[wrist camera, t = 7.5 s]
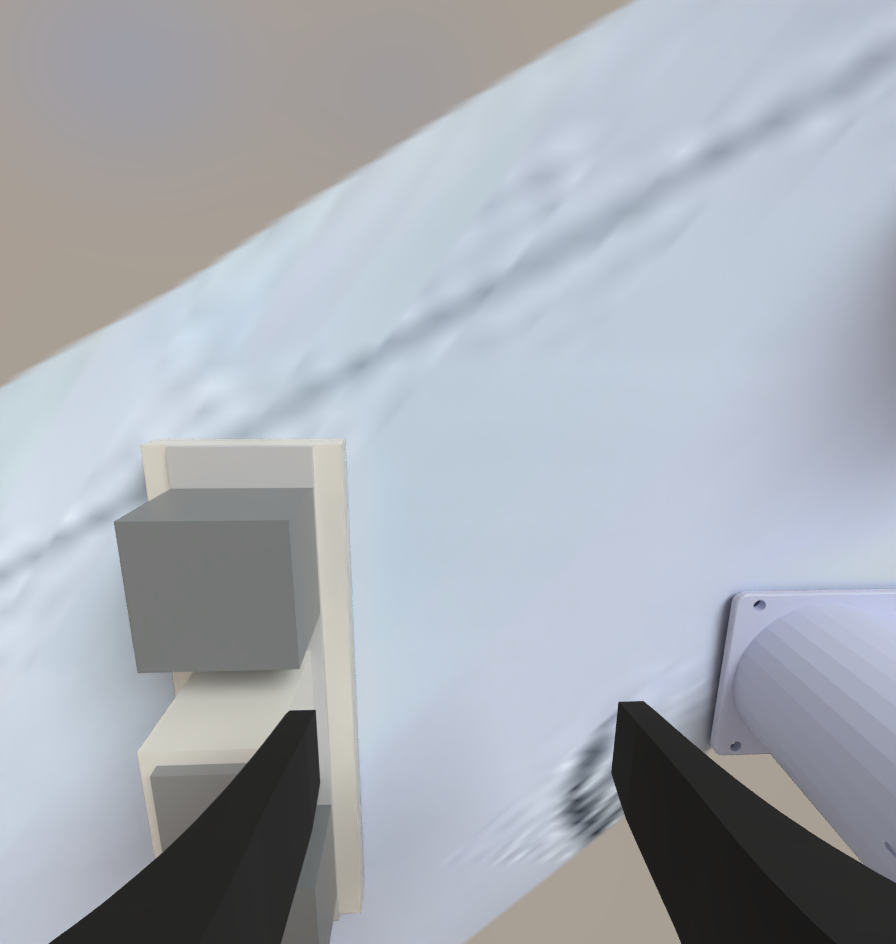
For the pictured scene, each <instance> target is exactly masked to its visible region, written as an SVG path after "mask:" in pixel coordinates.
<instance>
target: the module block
mask: <svg viewBox="0 0 896 944" xmlns="http://www.w3.org/2000/svg"><path fill="white" fill-rule="evenodd" d="M289 710H315V708H314V693H313V678H312V663H311V651H306V653H305V656H304V658H303V661H302V664H301V666H300V669H289V670H244V671H199V672H193V673H192V674H191V675H190V677H189V678H188V680H187V681H186V683H185V684H184V685H183V687H182V688H181V690H180V691H179V693H178V694H177V696H176V697H175V698H174V700H173V701H172V703H171V704H170V706H169V707H168V708H167V710H166V711H165V713H164V714H163V716H162V717H161V719H160V720H159V721H158V723H157V724H156V726H155V727H154V729H153V730H152V731H151V733H150V734H149V736H148V737H147V739H146V740H145V742H144V743H143V744H142V746H141V747H140V749H139V750H138V752H137V755H138V761H139V767H140V773H141V779H142V785H143V791H144V797H145V803H146V809H147V815H148V820H149V826H150V832H151V838H152V844H153V850H154V856H155V859H156V858H157V857H158V856H159V855H160V854H161V853H162V852H163V851H165V850H166V849H167V848H168V847H169V846H170V845H171V844H172V843H173V842H174V841H175V840H176V839H177V838H178V837H179V836H180V835H181V834H182V833H183V832H184V831H185V830H186V829H187V828H188V827H189V826H190V825H191V824H192V823H193V822H194V821H195V820H196V819H197V818H198V817H199V816H200V815H201V814H202V813H203V812H204V811H205V810H206V809H207V808H208V807H209V805H210V804H211V803H212V802H213V801H214V800H215V799H216V798H217V797H218V796H219V795H220V794H221V792H222V791H223V790H224V789H225V788H226V787H227V786H228V785H229V784H230V782H231V781H232V780H233V779H234V778H235V777H236V775H237V774H238V773H239V772H240V771H241V769H242V768H243V767H244V766H245V765H246V764H247V762H248V761H249V760H250V759H251V758H252V756H253V755H254V754H255V753H256V751H257V750H258V749H259V748H260V746H261V745H262V744H263V743H264V741H265V740H266V739H267V738H268V736H269V735H270V734H271V732H272V731H273V730H274V728H275V727H276V726H277V725H278V723H279V722H280V721H281V719H282V718H283V717H284V715H285V714H286V713H287V712H288V711H289Z"/></svg>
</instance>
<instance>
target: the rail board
mask: <svg viewBox="0 0 896 944" xmlns="http://www.w3.org/2000/svg"><path fill="white" fill-rule="evenodd" d="M140 446H141V453H142V460H143V468H144V475H145V482H146V489H147V496H148V502H147V503H145V504H143V505H142V506H140V507H138V508H137V509H135V510H133V511H131V512H130V513H128V514H126V515H125V516H123V517H121V518H119V519H118V520H116V521H114V526H115V532H116V538H117V545H118V551H119V557H120V564H121V570H122V576H123V583H124V589H125V595H126V602H127V608H128V614H129V621H130V627H131V633H132V640H133V646H134V652H135V659H136V665H137V671H138V673H154V672H172V675H173V682H174V690H175V697H176V696H177V694H178V693H179V691H180V690H181V688H182V687H183V685H184V684H185V683H186V681H187V680H188V678H189V677H190V675H191V674H192V673H193V672H199V671H244V670H289V669H300V666H301V664H302V661H303V658H304V656H305V653H306V651H311V663H312V678H313V693H314V708H315V710H316V721H317V737H318V753H319V768H320V788H319V794H318V800H317V806H316V812H315V818H314V823H313V829H312V833H311V837H310V841H309V844H308V848H307V852H306V855H305V859H304V863H303V866H302V870H301V873H300V877H299V881H298V884H297V888H296V891H295V895H294V898H293V902H292V906H291V909H290V913H289V916H288V920H287V923H286V927H285V931H284V934H283V938H282V941H281V944H329V943H330V936H331V930H332V924H333V921H338V920H339V914H343V913H361V910H362V901H363V892H364V873H363V849H362V825H361V801H360V777H359V753H358V729H357V705H356V681H355V657H354V633H353V609H352V585H351V561H350V537H349V513H348V489H347V465H346V441H345V439H157V440H154V441H151V442H149V443H146V444H143V445H140Z"/></svg>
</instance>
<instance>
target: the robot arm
mask: <svg viewBox="0 0 896 944" xmlns="http://www.w3.org/2000/svg"><path fill="white" fill-rule="evenodd" d="M758 600H760V602H759V604H758V605H757V606H754V604H755V602H757V601H758ZM733 742H735V743H734V744H732V743H733ZM710 745H711V746H712V748H713V749H714V751H715V752H716V753H717V754H719V755H744V754H745V755H746V754H771V755H772V756H773V758H774V759H775V760H776V761H777V762H778V763H779V765H780V766H781V767H782V768H783V769H784V770H785V772H786V773H787V774H788V775H789V776H790V778H791V779H792V780H793V781H794V782H795V784H796V785H797V786H798V787H799V788H800V789H801V791H802V792H803V793H804V794H805V795H806V797H807V798H808V799H809V800H810V801H811V803H812V804H813V805H814V806H815V807H816V809H817V810H818V811H819V812H820V813H821V814H822V815H823V817H824V818H825V819H826V820H827V822H828V823H829V824H830V825H831V826H832V828H833V829H834V830H835V831H836V832H837V833H838V835H839V836H840V837H841V838H842V839H843V841H844V842H845V843H846V844H847V845H848V846H849V848H850V849H851V850H852V851H853V852H854V854H855V855H856V856H857V857H858V858H859V860H860V861H861V862H862V863H863V864H864V865H863V864H862V863H860V862H858V861H856V860H855V859H853V858H851V857H850V856H848V855H846V854H844V853H843V852H841V851H840V850H838V849H836V848H834V847H833V846H831V845H830V844H828V843H826V842H825V841H823V840H822V839H820V838H818V837H817V836H815V835H814V834H812V833H811V832H809V831H808V830H806V829H805V828H803V827H802V826H800V825H799V824H797V823H796V822H794V821H792V820H791V819H790V818H788V817H787V816H785V815H784V814H782V813H781V812H780V811H778V810H777V809H775V808H774V807H773V806H771V805H770V804H768V803H767V802H766V801H764V800H763V799H761V798H760V797H759V796H757V795H756V794H755V793H754V792H752V791H751V790H750V789H748V788H747V787H746V786H744V785H743V784H742V783H740V782H739V781H738V780H736V779H735V778H734V777H733V776H731V775H730V774H729V773H728V772H726V771H725V770H724V769H723V768H721V767H720V766H719V765H718V764H716V763H715V762H714V761H713V760H712V759H710V758H709V757H708V756H707V755H706V754H704V753H703V752H702V751H701V750H700V749H699V748H697V747H696V746H695V745H694V744H693V743H691V742H690V741H689V740H688V739H687V738H686V737H685V736H683V735H682V734H681V733H680V732H679V731H678V730H676V729H675V728H674V727H673V726H672V725H671V724H670V723H668V722H667V721H666V720H665V719H664V718H663V717H662V716H660V715H659V714H658V713H657V712H656V711H655V710H653V709H652V708H651V707H650V706H649V705H647V704H646V703H645V702H644V701H635V702H619V703H618V713H617V723H616V732H615V742H614V752H613V762H612V772H611V773H612V776H613V780H614V783H615V786H616V789H617V793H618V796H619V799H620V802H621V805H622V808H623V811H624V814H625V817H626V820H627V822H628V824H629V827H630V829H631V831H632V833H633V836H634V838H635V840H636V842H637V845H638V847H639V849H640V851H641V854H642V856H643V858H644V860H645V863H646V865H647V867H648V869H649V872H650V874H651V876H652V878H653V880H654V883H655V885H656V887H657V889H658V891H659V894H660V896H661V898H662V900H663V903H664V905H665V907H666V909H667V911H668V914H669V916H670V918H671V920H672V922H673V925H674V927H675V929H676V932H677V934H678V937H679V939H680V941H681V944H896V589H848V590H785V591H743V592H740V593H738V594H736V595H735V596H734V598H733V600H732V603H731V610H730V616H729V623H728V629H727V636H726V642H725V649H724V655H723V662H722V668H721V675H720V681H719V688H718V694H717V701H716V707H715V714H714V720H713V727H712V733H711V739H710ZM319 788H320V768H319V753H318V737H317V721H316V710H289V711H288V712H287V713H286V714H285V715H284V717H283V718H282V719H281V721H280V722H279V723H278V725H277V726H276V727H275V728H274V730H273V731H272V732H271V734H270V735H269V736H268V738H267V739H266V740H265V741H264V743H263V744H262V745H261V746H260V748H259V749H258V750H257V751H256V753H255V754H254V755H253V756H252V758H251V759H250V760H249V761H248V762H247V764H246V765H245V766H244V767H243V768H242V769H241V771H240V772H239V773H238V774H237V775H236V777H235V778H234V779H233V780H232V781H231V782H230V784H229V785H228V786H227V787H226V788H225V789H224V790H223V791H222V792H221V794H220V795H219V796H218V797H217V798H216V799H215V800H214V801H213V802H212V803H211V804H210V805H209V807H208V808H207V809H206V810H205V811H204V812H203V813H202V814H201V815H200V816H199V817H198V818H197V819H196V820H195V821H194V822H193V823H192V824H191V825H190V826H189V827H188V828H187V829H186V830H185V831H184V832H183V833H182V834H181V835H180V836H179V837H178V838H177V839H176V840H175V841H174V842H173V843H172V844H171V845H170V846H169V847H168V848H167V849H166V850H165V851H163V852H162V853H161V854H160V855H159V856H158V857H157V858H156V859H155V860H154V861H152V862H151V863H150V864H149V865H148V866H147V867H146V868H144V869H143V870H142V871H141V872H140V873H139V874H138V875H136V876H135V877H134V878H133V879H132V880H130V881H129V882H128V883H127V884H126V885H124V886H123V887H122V888H121V889H120V890H118V891H117V892H116V893H115V894H114V895H112V896H111V897H110V898H109V899H108V900H106V901H105V902H104V903H102V904H101V905H100V906H99V907H97V908H96V909H95V910H93V911H92V912H91V913H89V914H88V915H87V916H86V917H84V918H83V919H82V920H80V921H79V922H78V923H76V924H75V925H74V926H72V927H71V928H69V929H68V930H67V931H65V932H64V933H63V934H61V935H60V936H58V937H57V938H56V939H54V940H53V941H52V942H50V943H49V944H281V941H282V938H283V934H284V931H285V927H286V923H287V920H288V916H289V913H290V909H291V906H292V902H293V898H294V895H295V891H296V888H297V884H298V881H299V877H300V873H301V870H302V866H303V863H304V859H305V855H306V852H307V848H308V844H309V841H310V837H311V833H312V829H313V823H314V818H315V812H316V806H317V800H318V794H319Z"/></svg>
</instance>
